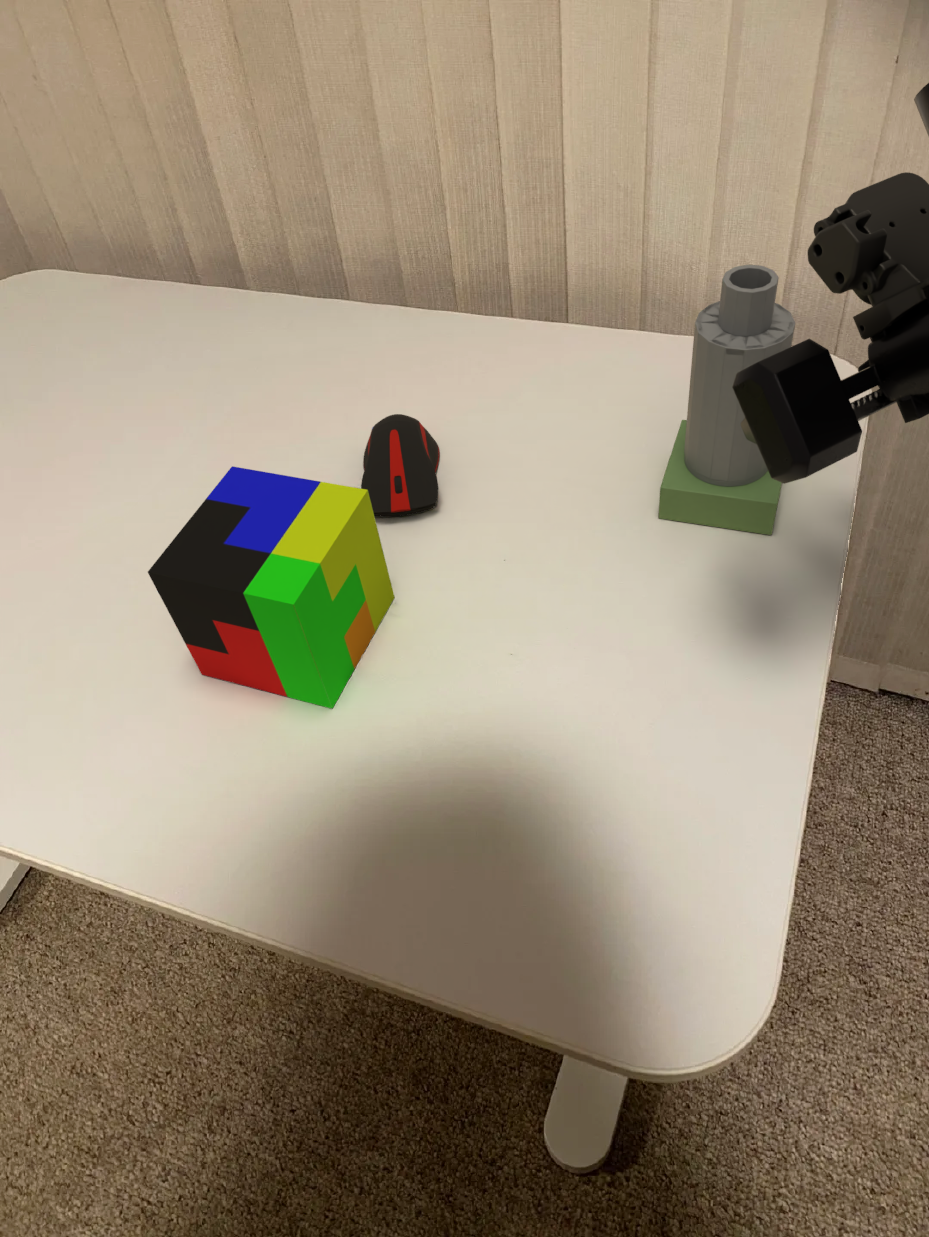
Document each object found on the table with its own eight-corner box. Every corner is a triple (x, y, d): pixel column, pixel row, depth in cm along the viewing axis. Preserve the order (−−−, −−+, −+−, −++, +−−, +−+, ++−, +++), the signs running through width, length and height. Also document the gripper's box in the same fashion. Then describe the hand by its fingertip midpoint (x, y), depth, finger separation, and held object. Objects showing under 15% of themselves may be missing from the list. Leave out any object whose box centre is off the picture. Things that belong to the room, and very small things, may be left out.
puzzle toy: (272, 571, 68) (231, 466, 61) (394, 597, 65) (367, 489, 58) (201, 674, 62) (147, 572, 55) (332, 708, 59) (293, 604, 52)
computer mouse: (362, 529, 70) (352, 489, 67) (363, 440, 78) (354, 401, 75) (444, 518, 70) (437, 478, 67) (438, 431, 77) (431, 390, 74)
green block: (771, 535, 65) (777, 503, 63) (658, 518, 67) (660, 487, 65) (785, 464, 70) (792, 432, 68) (679, 450, 72) (681, 419, 70)
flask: (762, 493, 64) (793, 309, 53) (675, 479, 66) (689, 298, 55) (777, 440, 67) (809, 257, 57) (694, 428, 69) (711, 249, 59)
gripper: (1098, 83, 43) (869, 229, 58) (786, 210, 38) (625, 333, 54) (1183, 305, 44) (936, 393, 59) (888, 455, 39) (702, 509, 54)
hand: (804, 402), depth 57 cm, fingers open, 9 cm apart
